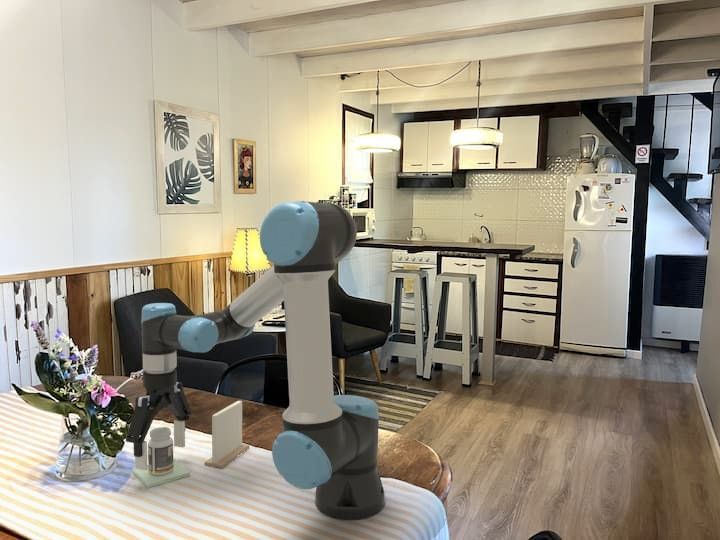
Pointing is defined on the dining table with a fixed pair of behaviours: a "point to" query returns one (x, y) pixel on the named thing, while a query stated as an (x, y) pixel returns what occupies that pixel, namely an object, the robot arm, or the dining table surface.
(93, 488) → the dining table surface
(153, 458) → the pill bottle
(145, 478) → the coaster
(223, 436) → the screen
